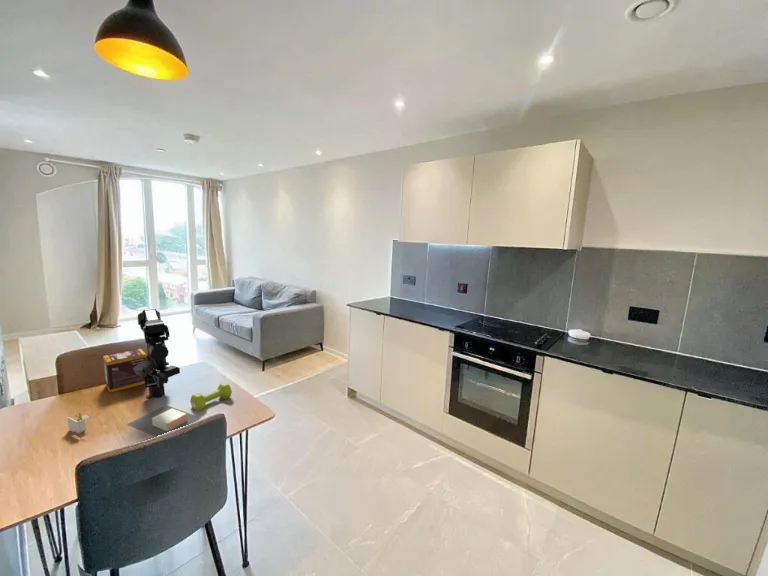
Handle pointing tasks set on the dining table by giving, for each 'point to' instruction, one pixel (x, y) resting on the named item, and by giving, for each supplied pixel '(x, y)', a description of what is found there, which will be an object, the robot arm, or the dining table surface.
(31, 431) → the dining table surface
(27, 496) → the dining table surface
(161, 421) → the slab
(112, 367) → the supplement box
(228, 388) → the dumbbell
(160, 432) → the mat
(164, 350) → the robot arm
